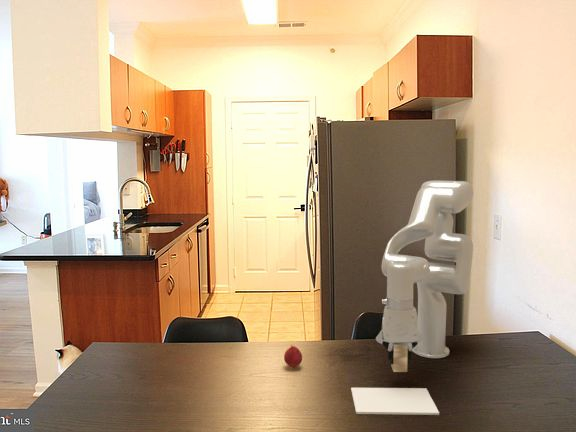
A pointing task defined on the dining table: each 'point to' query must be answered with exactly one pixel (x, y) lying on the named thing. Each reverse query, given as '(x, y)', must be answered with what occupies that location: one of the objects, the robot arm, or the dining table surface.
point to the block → (400, 357)
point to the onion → (293, 356)
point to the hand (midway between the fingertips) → (399, 361)
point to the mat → (393, 401)
